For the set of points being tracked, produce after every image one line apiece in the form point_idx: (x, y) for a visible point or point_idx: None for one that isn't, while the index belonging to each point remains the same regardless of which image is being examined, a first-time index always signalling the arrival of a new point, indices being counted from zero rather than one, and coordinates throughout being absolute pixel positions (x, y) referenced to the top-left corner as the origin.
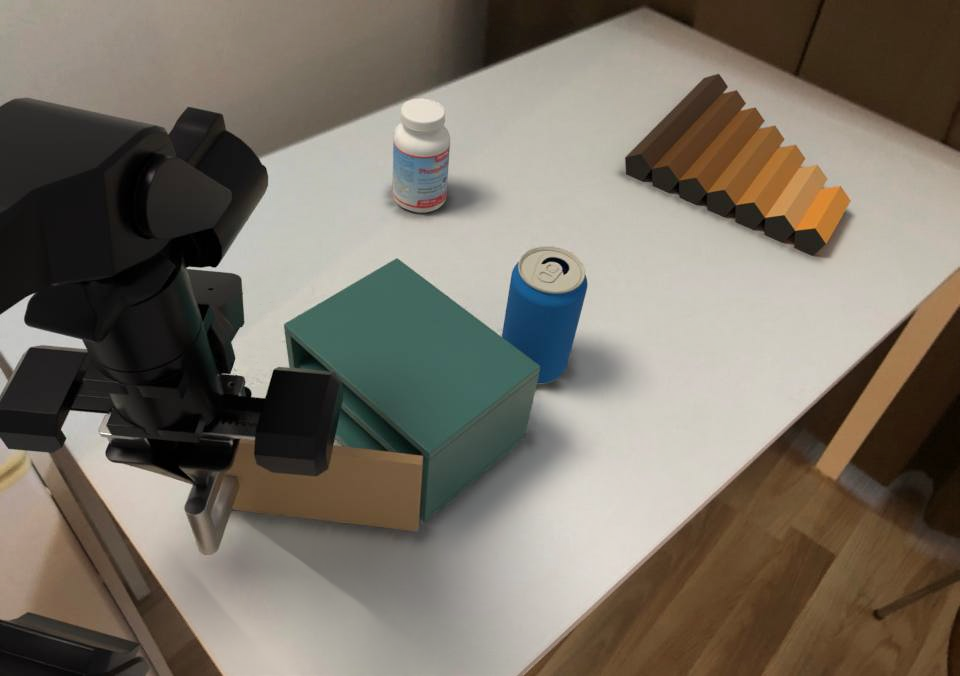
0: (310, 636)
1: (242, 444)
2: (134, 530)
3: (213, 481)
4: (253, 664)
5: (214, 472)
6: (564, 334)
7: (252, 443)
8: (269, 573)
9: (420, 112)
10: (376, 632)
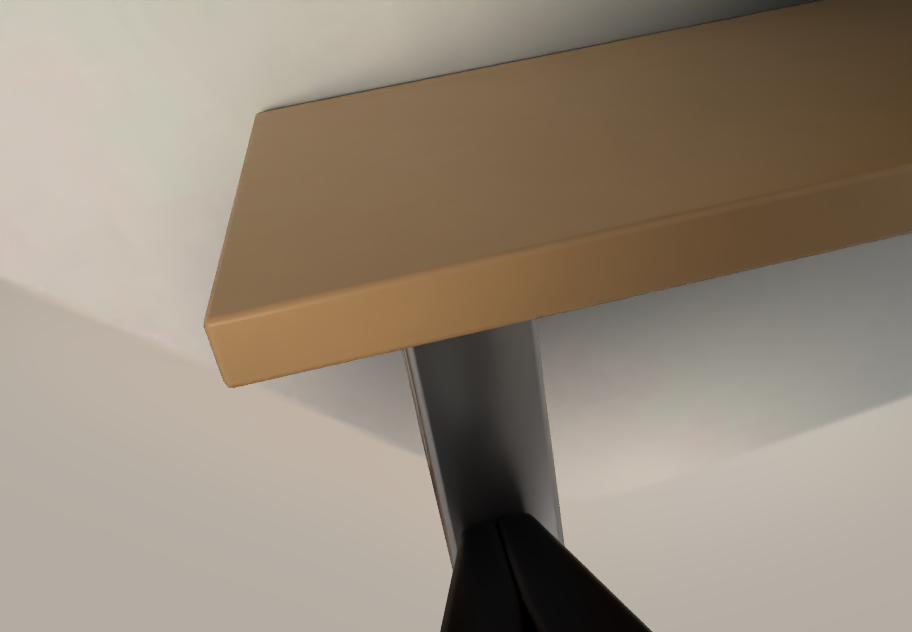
0: (733, 394)
1: (628, 296)
2: (89, 307)
3: (553, 534)
4: (619, 490)
5: (534, 491)
6: None
7: (695, 277)
8: None
9: None
10: (891, 330)
